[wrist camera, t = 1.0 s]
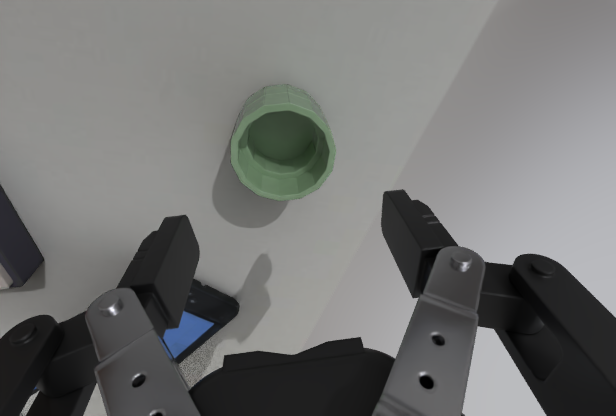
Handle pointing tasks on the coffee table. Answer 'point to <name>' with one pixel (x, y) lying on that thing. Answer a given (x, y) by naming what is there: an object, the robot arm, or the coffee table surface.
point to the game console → (197, 320)
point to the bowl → (282, 144)
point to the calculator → (15, 248)
